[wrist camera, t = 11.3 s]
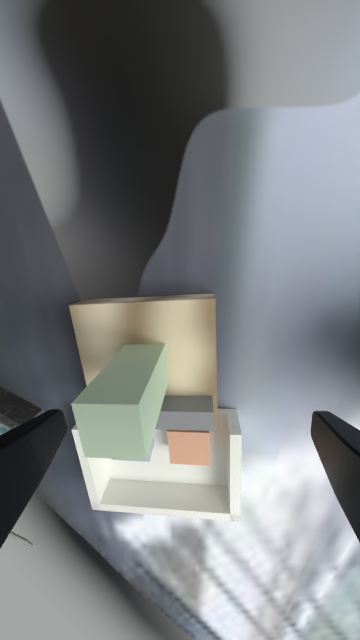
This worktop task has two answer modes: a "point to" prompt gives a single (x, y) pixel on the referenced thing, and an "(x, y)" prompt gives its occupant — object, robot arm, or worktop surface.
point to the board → (153, 337)
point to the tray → (171, 478)
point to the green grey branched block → (134, 405)
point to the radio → (15, 423)
